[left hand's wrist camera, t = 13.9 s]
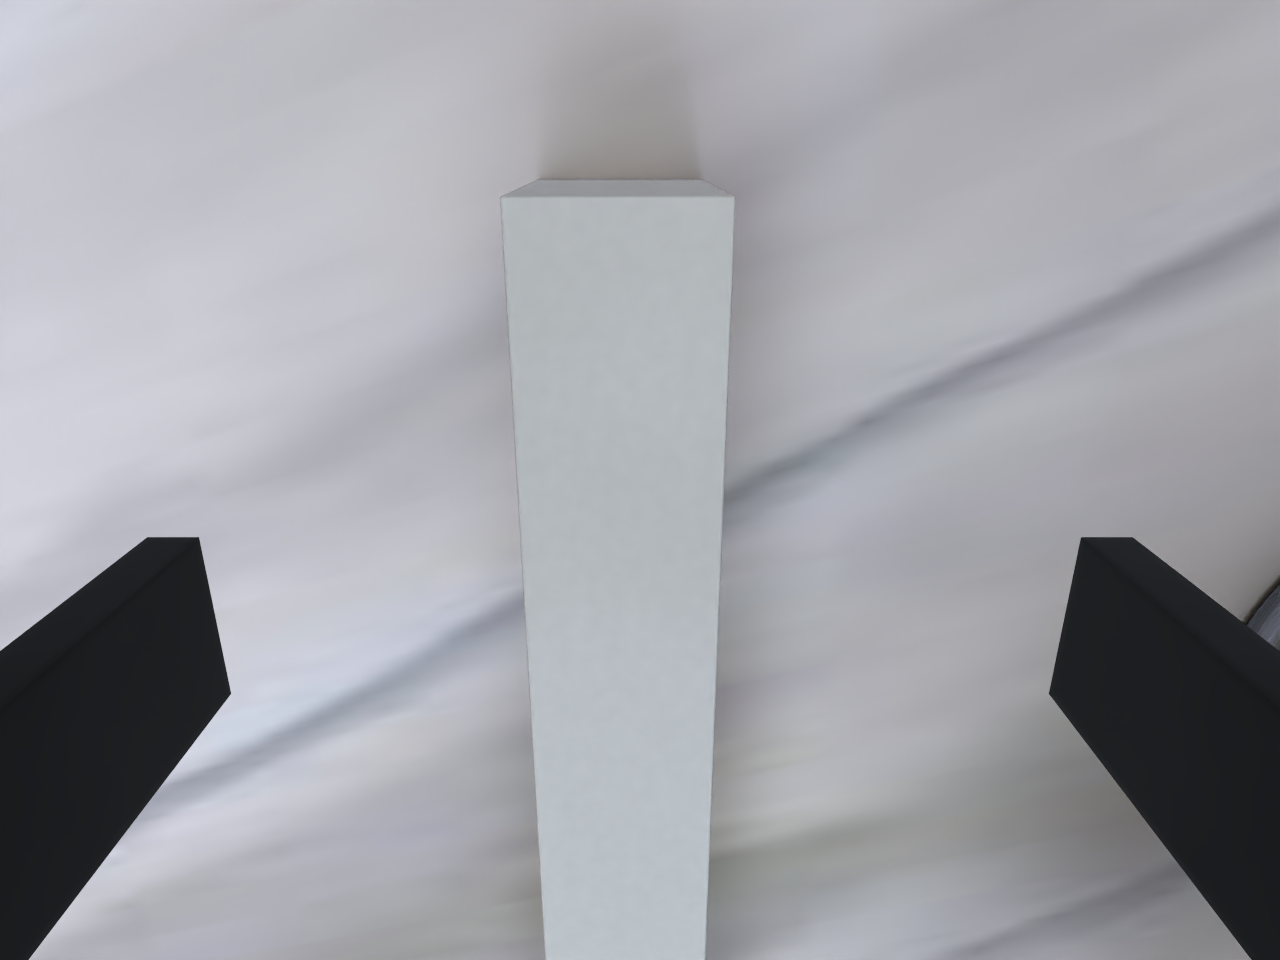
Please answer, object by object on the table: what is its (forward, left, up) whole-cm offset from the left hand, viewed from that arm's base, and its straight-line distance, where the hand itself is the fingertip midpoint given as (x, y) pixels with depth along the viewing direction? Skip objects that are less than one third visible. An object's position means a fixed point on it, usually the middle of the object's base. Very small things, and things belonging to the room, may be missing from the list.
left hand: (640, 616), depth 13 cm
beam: (-17, +13, -16) cm, 27 cm away
